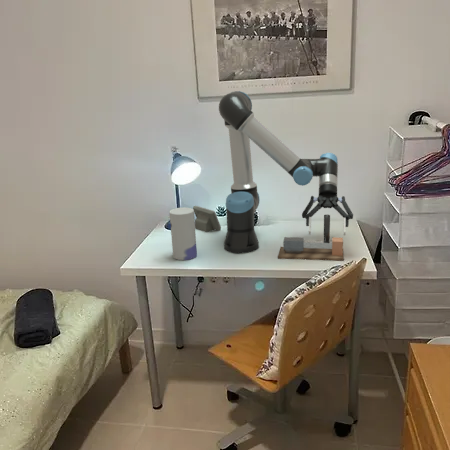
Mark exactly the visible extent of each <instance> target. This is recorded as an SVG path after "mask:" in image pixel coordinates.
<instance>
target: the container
mask: <svg viewBox="0 0 450 450" xmlns="http://www.w3.org/2000/svg"><path fill="white" fill-rule="evenodd" d="M195 219H196V218H195V213H194V209H193V207H184V206H183V207H176V208H172V209H170V210H169V223H170V234H171V245H172V246H171V247H172V256H173V259H175V260H179V261H188V260H193V259H195V258H196V257H197V255H198V250H197V237H196V235H197V233H196V228H195Z"/></svg>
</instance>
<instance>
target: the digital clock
mask: <svg viewBox="0 0 450 450" xmlns="http://www.w3.org/2000/svg"><path fill="white" fill-rule="evenodd" d="M192 209H194V216H195V217H196V218H194V219H195V230H196V229H197V230H198V231H201V232H204V233H209V232H212V231H218V232H219V231H220V232H221V229H222V227H221V223H220V221H219V219H218V216H217V212H216V211H215V210H212V209H209V208H206V207H202V206H199V205H194V206H193V207H192Z"/></svg>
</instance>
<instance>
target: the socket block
mask: <svg viewBox="0 0 450 450" xmlns="http://www.w3.org/2000/svg"><path fill="white" fill-rule="evenodd" d="M331 241H332V255H340V256H343V254H344V237H335V236H334V237H332V240H331Z"/></svg>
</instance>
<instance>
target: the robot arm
mask: <svg viewBox="0 0 450 450" xmlns="http://www.w3.org/2000/svg"><path fill="white" fill-rule="evenodd" d="M252 103H253V102H252V99H251V97H250V96H249V95H248V94H247V93H245V92H244V91H240V90H239V91H238V90H237V91H235V90H234V91H231V92H230V93H227V94H225V95H223V97H222V98H221V99H220V101H219V104H218V111H219V114H220V115H219V116H221V118H222V119H223V121H224V126H225V127H226V128H227V129H228V133H229V134H228V135H229V145H230V146H229V147H230V159H231V166H232V175H233V177H232V178H233V183H232V185H231V186H230V194H228V195H227V196H226V198H225V212H226V229H227V230H226V235H225V238H224V241H223V249H224V250H225V251H226V252H228V253H233V254H248V253H253V252H255V251H256V250H258V249H259V248H260V242H259V239H258V236H257V234H256V231H255V213H256V210H257V209H258V207H259V206H260V205H259V204H260V195H259V192H258V186H257V183H256V182H255V181H254V177H253V165H252V155H251V154H252V153H251V143H250V141H252V143H254V144H256V146H257V147H259V148H260V150H262V151H263V152H264V153H265V154H266V155H268V157H270V158H271V160H273V161H274V162H275V163H276V164H277V165H279V167H281V168H282V169H283V170H284V171H286V173H288V174H289V176H291V178H292V179H293V181H294V183H295V184H296V185H299V186H307V185H308V184H310V183H311V181H312V180H313V177H316V178H317V177H319V178H318V196H317V197H315V196H313V195H311V196H310V200H309V202H308V204H307V205H306V207H305V208H304V209H303V211H302V212H301V213H302V214H301V218H303V219H305V220H306V221H305V225H306V227H308V235H311V233H312V217H313V216H314V215H316V213H317V212H318V211H319V210H321V209H322V208H323V209H332V208H333V209H334V210H335V211H337V213H339V215H340V216H341V217H342V218H343V223H342V224H343V230H342V231H343V233H342V235H343V236H346V233H347V232H346V230H347V228H348V227H349V224H350V223H349V221H350V220H353V219H354V213H353V212H352V210H351V208H350V206H349V205H348V203H347V201H346V197H345V196H343V195H342V196H341V197H338V173H339V172H338V170H339V169H338V166H339V165H338V164H339V163H338V156H337V155H336V154H334V153H332V152H325V153H322V154H320V156H319V158H300V156H298V155H297V154H296V153H295V152H293V150H292V149H291V148H289V147H288V146H287V145H286V144H285V143H284V142H282V141H281V140H280V139H279V138H278V137H277V136H276V135H275V134H273V132H272V131H271V130H269V129H268V128H267V127H266V126H265V125H264V124H263V123H262V122H261V121H259V120H258V119H257V117H255V113H254V112H253V111H252V109H253V104H252ZM316 202H317V204H316V205H315V206H314V207H313V205H314V203H316ZM338 202H339V203H341V205H342V207H343V208H342V207H341V206H340V205H339V203H338ZM312 207H313V208H312Z"/></svg>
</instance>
